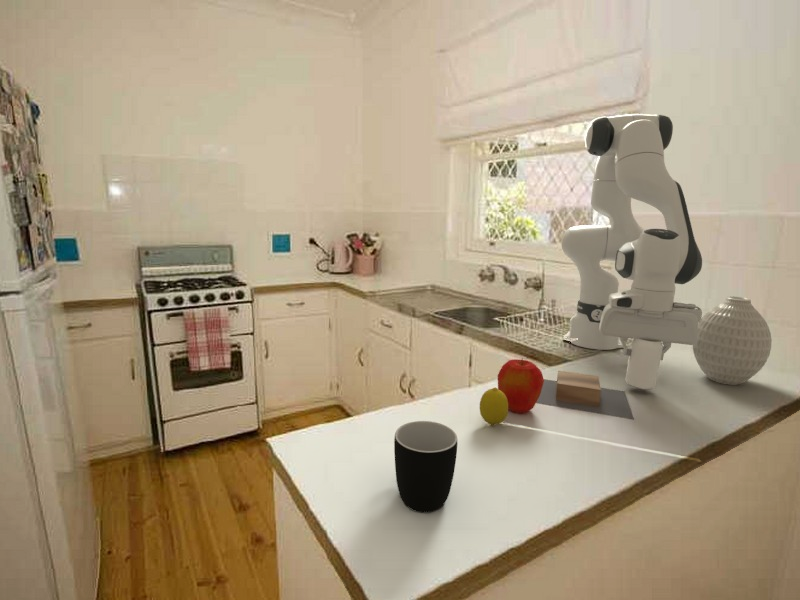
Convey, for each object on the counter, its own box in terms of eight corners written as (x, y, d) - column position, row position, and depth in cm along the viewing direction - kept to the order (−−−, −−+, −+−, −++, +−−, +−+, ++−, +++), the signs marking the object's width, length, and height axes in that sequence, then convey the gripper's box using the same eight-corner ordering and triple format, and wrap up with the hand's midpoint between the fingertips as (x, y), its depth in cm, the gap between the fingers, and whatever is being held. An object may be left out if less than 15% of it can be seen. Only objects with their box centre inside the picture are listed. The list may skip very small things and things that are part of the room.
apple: (487, 409, 94) (491, 356, 91) (510, 398, 100) (515, 348, 97) (525, 425, 87) (530, 368, 85) (548, 412, 93) (553, 359, 91)
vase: (745, 397, 104) (762, 306, 100) (675, 375, 118) (688, 294, 114) (774, 385, 113) (791, 301, 108) (705, 366, 126) (718, 290, 122)
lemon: (475, 428, 85) (478, 390, 84) (481, 417, 90) (483, 380, 89) (504, 434, 83) (507, 395, 82) (508, 422, 88) (511, 385, 87)
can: (660, 391, 102) (670, 342, 99) (633, 389, 102) (642, 341, 99) (645, 379, 108) (654, 333, 105) (619, 378, 108) (628, 332, 105)
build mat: (530, 378, 112) (530, 377, 112) (624, 392, 105) (624, 391, 105) (524, 402, 98) (524, 400, 98) (633, 421, 90) (634, 419, 90)
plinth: (556, 385, 107) (558, 370, 106) (596, 392, 104) (598, 376, 103) (555, 399, 99) (557, 383, 98) (598, 407, 96) (601, 390, 95)
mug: (466, 508, 62) (470, 443, 60) (410, 527, 58) (413, 458, 56) (423, 465, 72) (426, 408, 70) (374, 478, 68) (375, 418, 66)
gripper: (699, 302, 100) (689, 358, 103) (602, 293, 107) (595, 347, 110) (707, 307, 94) (696, 367, 97) (604, 298, 101) (597, 355, 104)
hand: (642, 357), depth 104 cm, fingers closed on can, 5 cm apart
